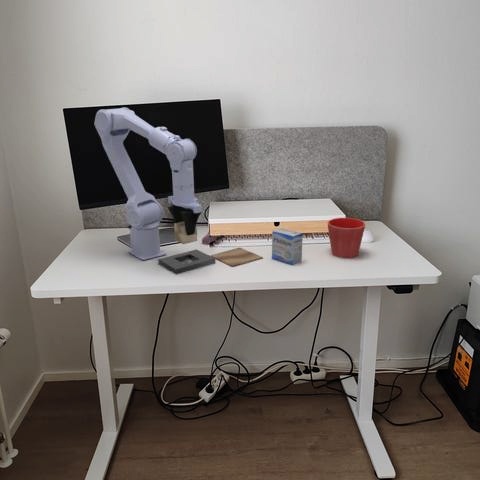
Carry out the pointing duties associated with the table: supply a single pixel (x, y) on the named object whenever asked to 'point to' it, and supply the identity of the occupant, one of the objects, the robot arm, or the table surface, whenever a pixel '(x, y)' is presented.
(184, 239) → the square plug
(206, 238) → the video game controller
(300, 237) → the medicine box
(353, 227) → the flower pot
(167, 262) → the holder
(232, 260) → the mat
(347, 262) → the table surface
